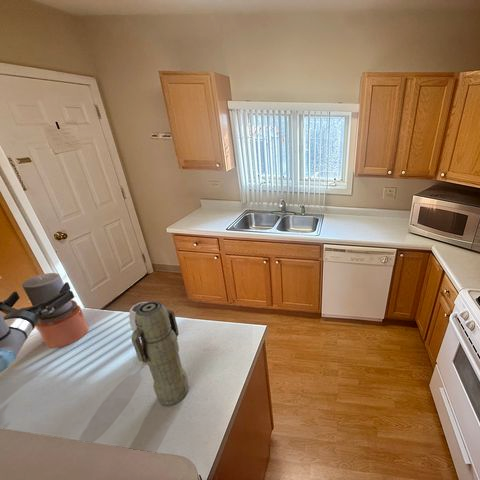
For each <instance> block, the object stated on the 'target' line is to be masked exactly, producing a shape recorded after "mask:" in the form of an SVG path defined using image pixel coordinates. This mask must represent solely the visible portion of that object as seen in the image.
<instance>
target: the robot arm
mask: <svg viewBox="0 0 480 480" xmlns="http://www.w3.org/2000/svg"><path fill="white" fill-rule="evenodd" d="M63 284H64V285H63V287H62V289H61V290H60V292H59V293H60V294H58V295H56V296H54V297H52V298H50V299H48V300H46V301H44V302H43V303H41V302H40V303H38V304H36V305H34V306H33V305H30V306H26V307H20V308H19V309H18V308H16V307H14V306H15V305H16V303H17V302H18V301H19V300H20V298H21V297H20V296H19V294H18V291H13V292H11V294H10V295H9V296H8V297H7V298H6V299H4V300H3V301H0V373H2V372H4V371H5V370H7V369H8V368H9V367H10V365H11V364H12V362H13V361H14V360H15V359H16V358H17V356H18V355H19V353H20V351H21V349H22V347H23V346H24V345H25V342H26V341H27V339H28V338H29V336H30V335H31V333H32V331H33V330H34V329H35V328H36V324H37V322H38V319H39V317H40V316H42V315H43V314H47V313H49V315H53V314H54V313H55V312H56V310H58V309H59V308H61V307H62V306H63V305H65V304H66V303H67V302H69V301H70V300H73V299H74V298H75V295H74V293H73V291H72V290H71V286H70V284H69V282H68V281H67V282H65V283H63ZM39 306H40V308H41V309H40V308H38V307H39ZM2 313H3V314H4V316H3V315H2Z"/></svg>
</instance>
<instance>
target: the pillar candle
mask: <svg viewBox="0 0 480 480" xmlns="http://www.w3.org/2000/svg"><path fill="white" fill-rule="evenodd" d="M64 284H65V283H64V282H63V280H62V277H61V275H60V274H59V273H57V272H48V273H41V274H38V275H35V276H32V277H30V278H28V279H26V280H24V281H23V282H22V284H21V285H22V288H23V290H24V292H25V294H26V296H27V298H28V300H29V301H30V304H31V306H34V305H36V304H38V303H40V302H41V303H43V302H44V301H46V300H48V299H50V298H52V297H54V296H56V295H58V294H60V293H59V292H60V290H61V289H62V287H63V285H64ZM71 307H72V302H71V300H70V301H69V302H67V303H66V304H65V305H63V306H62V307H61V308H59V309H58V310H56V312H55V313H54V314H53V315H49V313H47V314H43V315H42V316H40V318H49V317H54V316H57V315H59V314H62V313H64V312H66V311H67V310H69V309H70V308H71ZM38 308H40V306H39V307H38ZM40 309H41V308H40Z"/></svg>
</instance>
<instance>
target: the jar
mask: <svg viewBox="0 0 480 480" xmlns="http://www.w3.org/2000/svg"><path fill="white" fill-rule="evenodd" d="M71 302H72V307H71V308H70V309H69V310H67V311H66V312H64V313H62V314H59V315H57V316H54V317H49V318H40V317H39V319H38V322H37V324H36V326H35V329H36V331H37V332H38V334H39V336H40V337H41V339H42V341H43V343H44V345H45V347H47V348H50V349H57V348H62V347H65V346H69V345H72V344H73V343H76V342H77V341H79V340H81V339H82V338H83V337H84V336H86V334H87V333H88V332H89V330H90V327H89V324H88V321H87V319H86V317H85V314H84V313H83V311H82V310H83V309H82V308H81V306H80V305H78V303H77V301H75V300H73V299H72V300H71Z"/></svg>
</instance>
